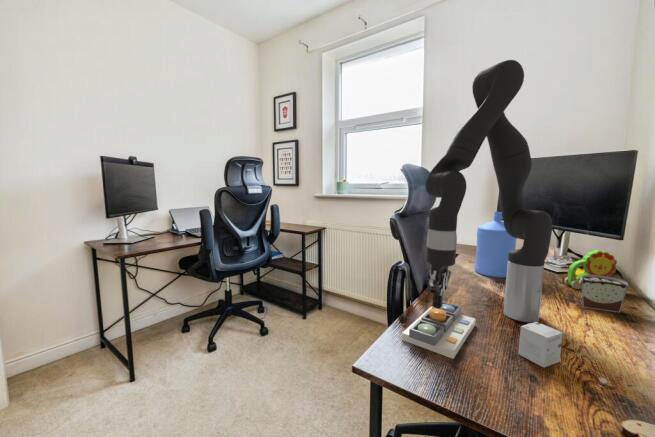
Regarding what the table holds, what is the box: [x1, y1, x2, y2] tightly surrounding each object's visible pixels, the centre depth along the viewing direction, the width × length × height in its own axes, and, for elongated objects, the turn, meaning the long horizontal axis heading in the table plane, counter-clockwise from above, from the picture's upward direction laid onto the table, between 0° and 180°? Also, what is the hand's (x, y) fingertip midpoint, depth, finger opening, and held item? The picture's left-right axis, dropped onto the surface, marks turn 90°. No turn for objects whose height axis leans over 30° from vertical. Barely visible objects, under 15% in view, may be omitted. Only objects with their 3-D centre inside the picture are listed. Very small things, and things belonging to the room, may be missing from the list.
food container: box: [579, 275, 630, 313], centre depth 97 cm, size 12×6×10 cm, turn 65°
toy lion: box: [564, 249, 618, 290], centre depth 113 cm, size 16×6×15 cm, turn 84°
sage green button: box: [418, 324, 436, 336], centre depth 75 cm, size 4×4×2 cm
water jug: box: [474, 211, 518, 279], centre depth 131 cm, size 16×16×28 cm
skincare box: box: [517, 321, 564, 369], centre depth 69 cm, size 6×6×7 cm
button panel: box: [401, 301, 476, 360], centre depth 80 cm, size 13×23×4 cm, turn 140°
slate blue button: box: [440, 304, 455, 313], centre depth 87 cm, size 4×4×2 cm
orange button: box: [429, 309, 446, 323], centre depth 81 cm, size 4×4×2 cm
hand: (437, 307), depth 80 cm, fingers closed
